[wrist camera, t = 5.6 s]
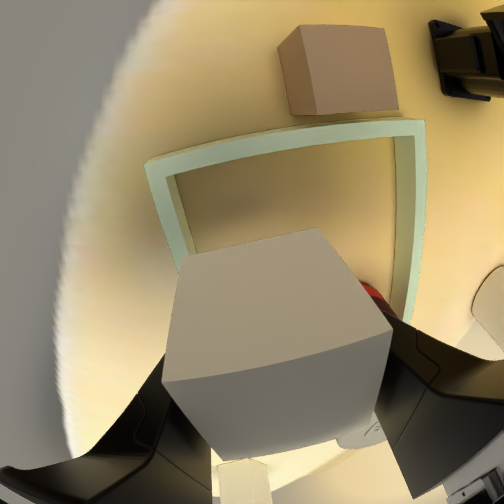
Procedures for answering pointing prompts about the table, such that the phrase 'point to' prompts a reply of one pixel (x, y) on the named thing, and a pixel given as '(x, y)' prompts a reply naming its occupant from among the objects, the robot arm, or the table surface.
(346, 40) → the brown carton
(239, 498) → the milk
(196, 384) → the white block
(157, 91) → the table surface
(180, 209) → the mint green rectangular frame
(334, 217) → the table surface
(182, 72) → the table surface
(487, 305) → the pill bottle
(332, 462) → the table surface
